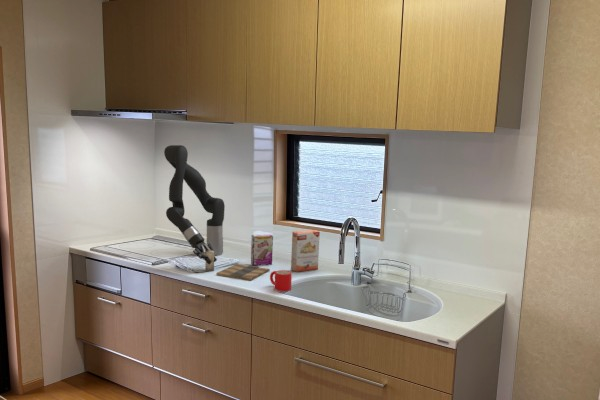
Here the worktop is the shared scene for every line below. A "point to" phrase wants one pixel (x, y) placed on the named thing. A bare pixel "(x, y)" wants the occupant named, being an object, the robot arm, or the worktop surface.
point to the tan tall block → (211, 256)
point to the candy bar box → (261, 249)
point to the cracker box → (305, 250)
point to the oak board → (243, 272)
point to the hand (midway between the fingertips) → (212, 262)
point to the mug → (281, 280)
